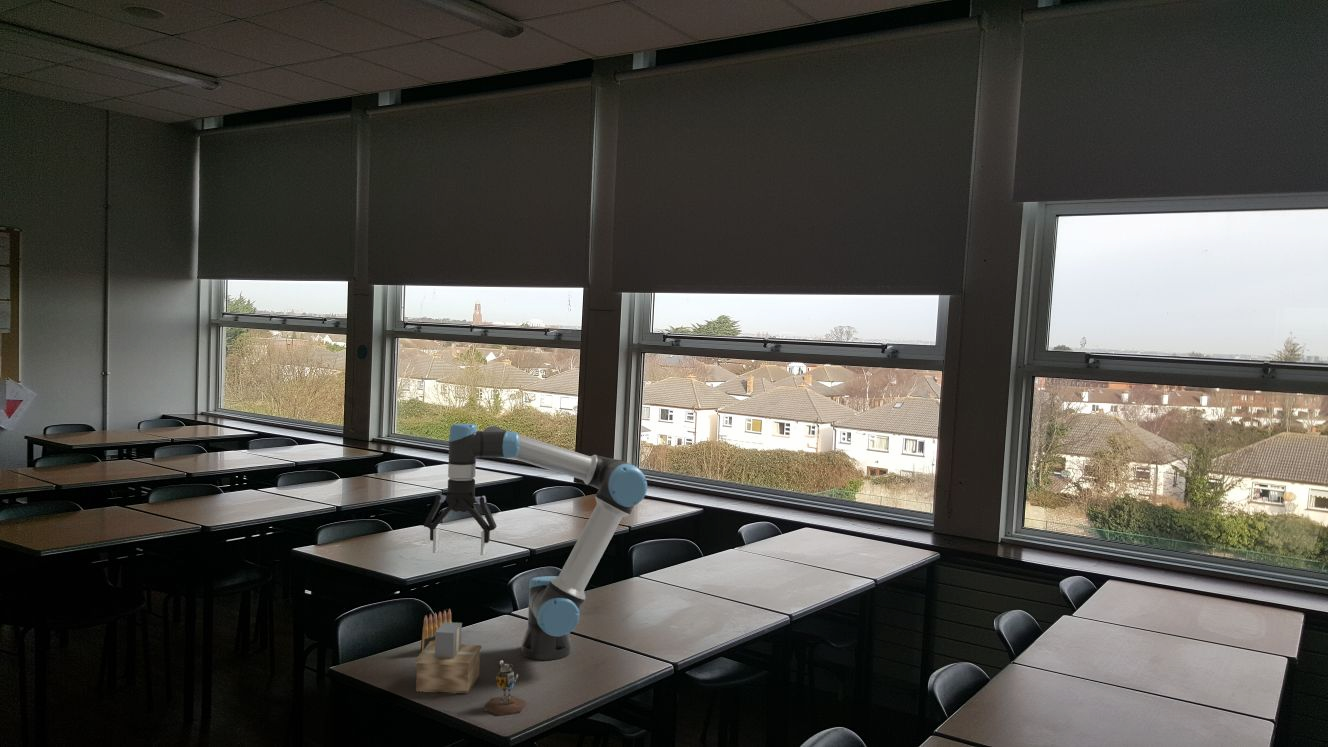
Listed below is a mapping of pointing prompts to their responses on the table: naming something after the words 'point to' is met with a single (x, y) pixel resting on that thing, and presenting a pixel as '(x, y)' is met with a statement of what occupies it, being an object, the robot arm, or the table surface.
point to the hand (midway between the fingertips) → (459, 553)
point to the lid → (461, 658)
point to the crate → (447, 677)
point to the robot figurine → (509, 702)
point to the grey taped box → (448, 640)
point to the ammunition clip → (433, 627)
